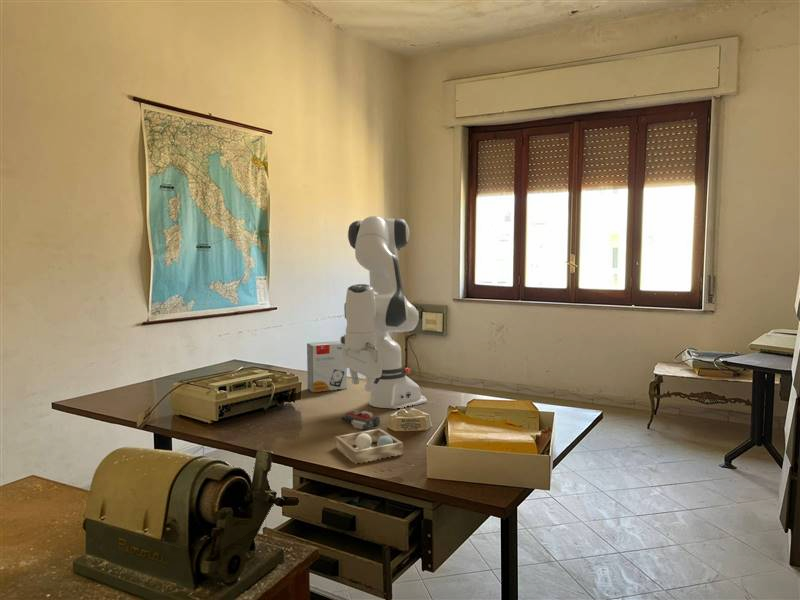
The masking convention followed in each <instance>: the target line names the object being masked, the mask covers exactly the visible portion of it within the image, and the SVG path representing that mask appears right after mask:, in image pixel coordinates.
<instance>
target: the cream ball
mask: <svg viewBox="0 0 800 600" xmlns="http://www.w3.org/2000/svg"><path fill="white" fill-rule="evenodd" d="M372 443H373V442H372V439H371V437H370V436H369V435H368V434H366V433H362V434H360V435H358V436H357V438H356V445H355V446H356V448H357V447H358V448H359V449H361V450H362V449H367V448H370V447H372Z"/></svg>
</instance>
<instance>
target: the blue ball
mask: <svg viewBox="0 0 800 600" xmlns="http://www.w3.org/2000/svg"><path fill="white" fill-rule="evenodd" d="M392 443H393V440H392V439H391V438H390V437H389V436H381V437H380V438H379V439H378V441H376V447H377V446H382V445H387V444H392Z"/></svg>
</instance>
